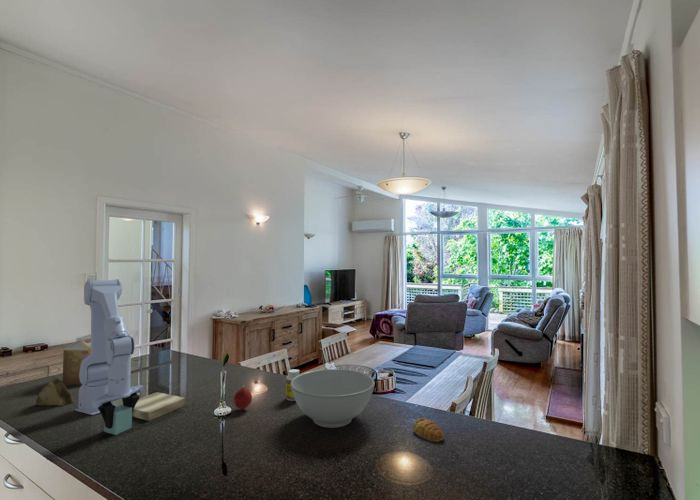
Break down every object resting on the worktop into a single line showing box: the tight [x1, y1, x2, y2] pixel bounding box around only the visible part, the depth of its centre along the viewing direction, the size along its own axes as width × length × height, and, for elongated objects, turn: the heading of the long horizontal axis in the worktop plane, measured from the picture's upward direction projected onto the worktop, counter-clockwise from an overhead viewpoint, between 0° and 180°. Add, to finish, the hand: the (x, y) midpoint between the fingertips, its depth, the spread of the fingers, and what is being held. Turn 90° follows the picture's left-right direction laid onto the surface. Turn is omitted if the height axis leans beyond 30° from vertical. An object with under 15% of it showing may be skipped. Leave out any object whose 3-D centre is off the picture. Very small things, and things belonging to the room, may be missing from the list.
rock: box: [35, 377, 75, 407], centre depth 130 cm, size 11×9×10 cm
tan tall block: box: [61, 333, 107, 386], centre depth 155 cm, size 11×11×19 cm
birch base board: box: [132, 391, 187, 422], centre depth 125 cm, size 14×14×2 cm
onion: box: [233, 385, 253, 411], centre depth 125 cm, size 6×6×8 cm
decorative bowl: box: [291, 368, 376, 429], centre depth 118 cm, size 27×27×12 cm
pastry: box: [412, 417, 445, 443], centre depth 107 cm, size 9×7×4 cm
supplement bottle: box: [285, 368, 300, 402], centre depth 135 cm, size 6×6×10 cm
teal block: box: [103, 404, 133, 436], centre depth 110 cm, size 5×5×6 cm
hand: (118, 423), depth 110 cm, fingers closed on teal block, 5 cm apart
